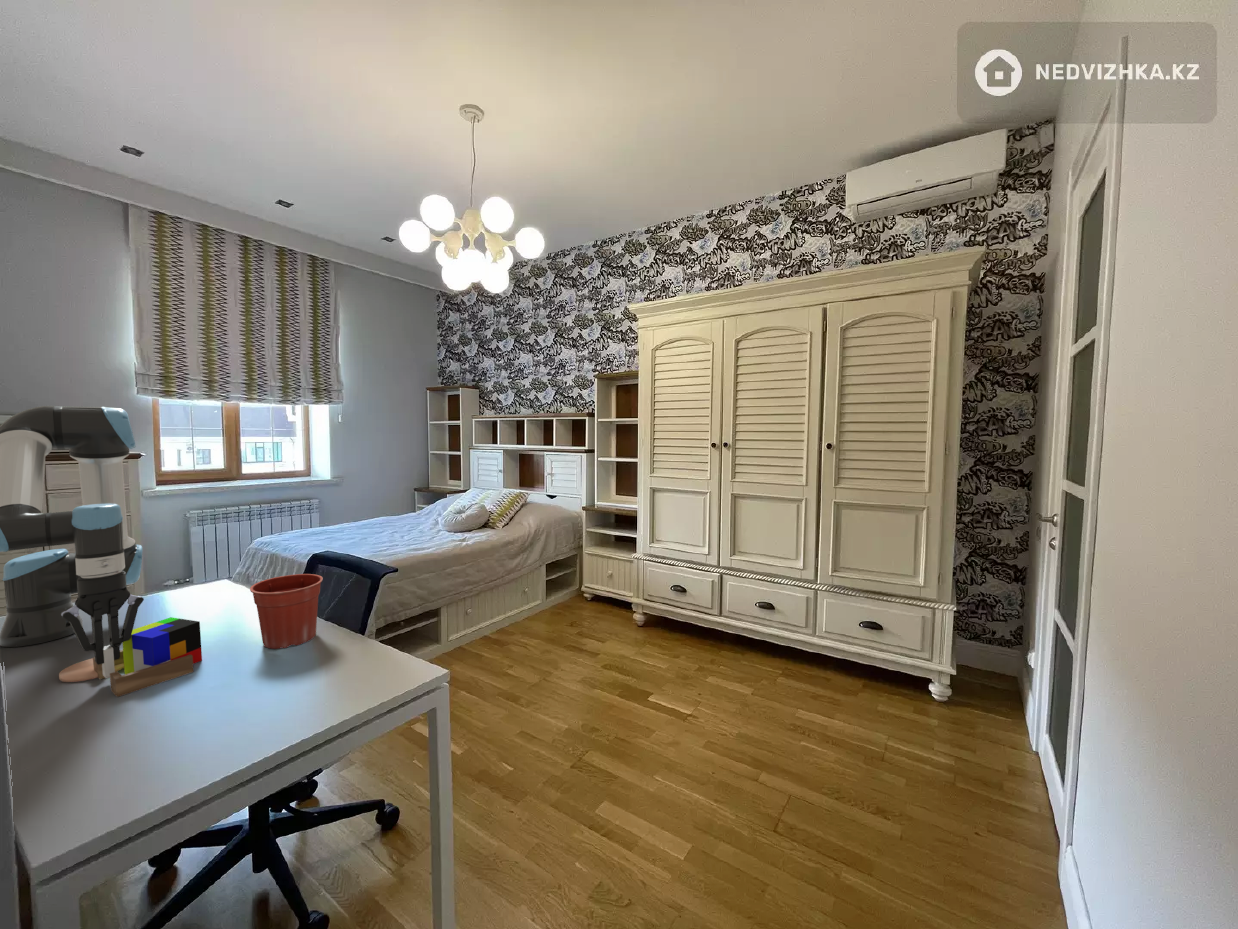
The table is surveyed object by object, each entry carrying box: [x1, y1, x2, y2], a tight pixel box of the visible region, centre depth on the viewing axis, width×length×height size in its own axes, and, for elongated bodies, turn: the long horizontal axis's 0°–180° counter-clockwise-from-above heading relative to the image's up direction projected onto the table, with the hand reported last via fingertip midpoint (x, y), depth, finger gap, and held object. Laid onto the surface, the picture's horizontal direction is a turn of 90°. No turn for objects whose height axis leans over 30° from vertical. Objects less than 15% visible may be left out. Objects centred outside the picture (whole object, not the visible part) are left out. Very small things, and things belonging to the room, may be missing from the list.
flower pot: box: [249, 573, 324, 650], centre depth 133 cm, size 16×16×16 cm
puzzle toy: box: [121, 616, 203, 675], centre depth 118 cm, size 10×10×10 cm
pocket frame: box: [92, 649, 195, 698], centre depth 115 cm, size 18×13×4 cm
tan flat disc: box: [58, 657, 124, 683], centre depth 117 cm, size 12×12×1 cm
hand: (108, 675), depth 110 cm, fingers closed
